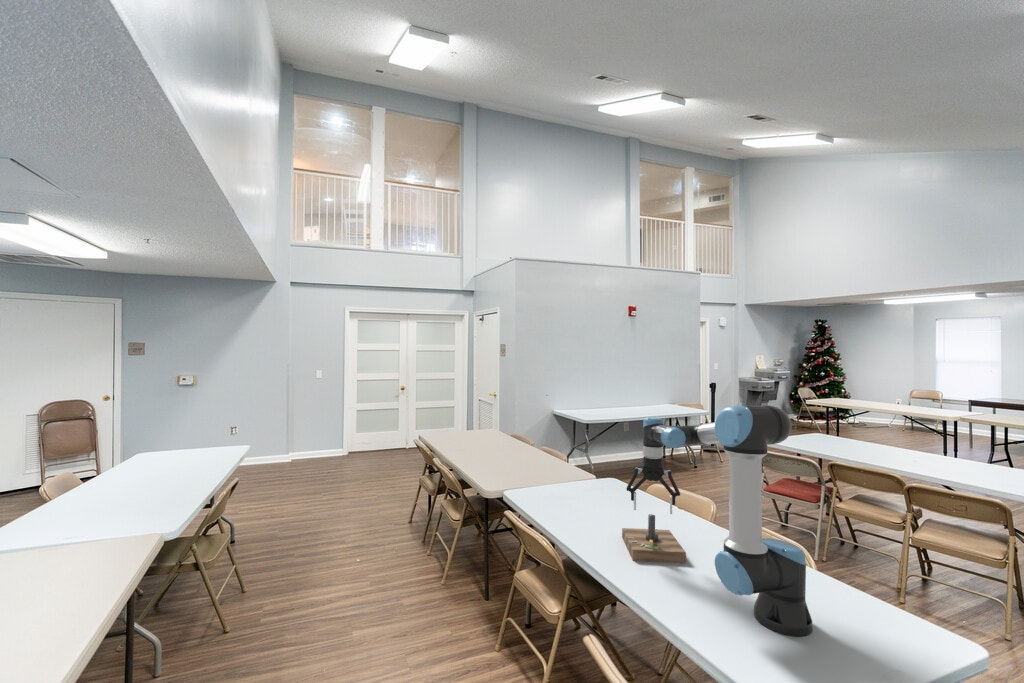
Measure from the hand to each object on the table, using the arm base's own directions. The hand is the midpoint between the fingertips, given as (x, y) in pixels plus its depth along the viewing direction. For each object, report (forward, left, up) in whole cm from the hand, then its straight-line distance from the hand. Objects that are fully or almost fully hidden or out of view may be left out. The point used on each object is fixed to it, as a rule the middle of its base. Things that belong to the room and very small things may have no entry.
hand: (652, 511), depth 180 cm
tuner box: (+6, -1, -17) cm, 19 cm away
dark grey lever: (+3, 0, -13) cm, 14 cm away
